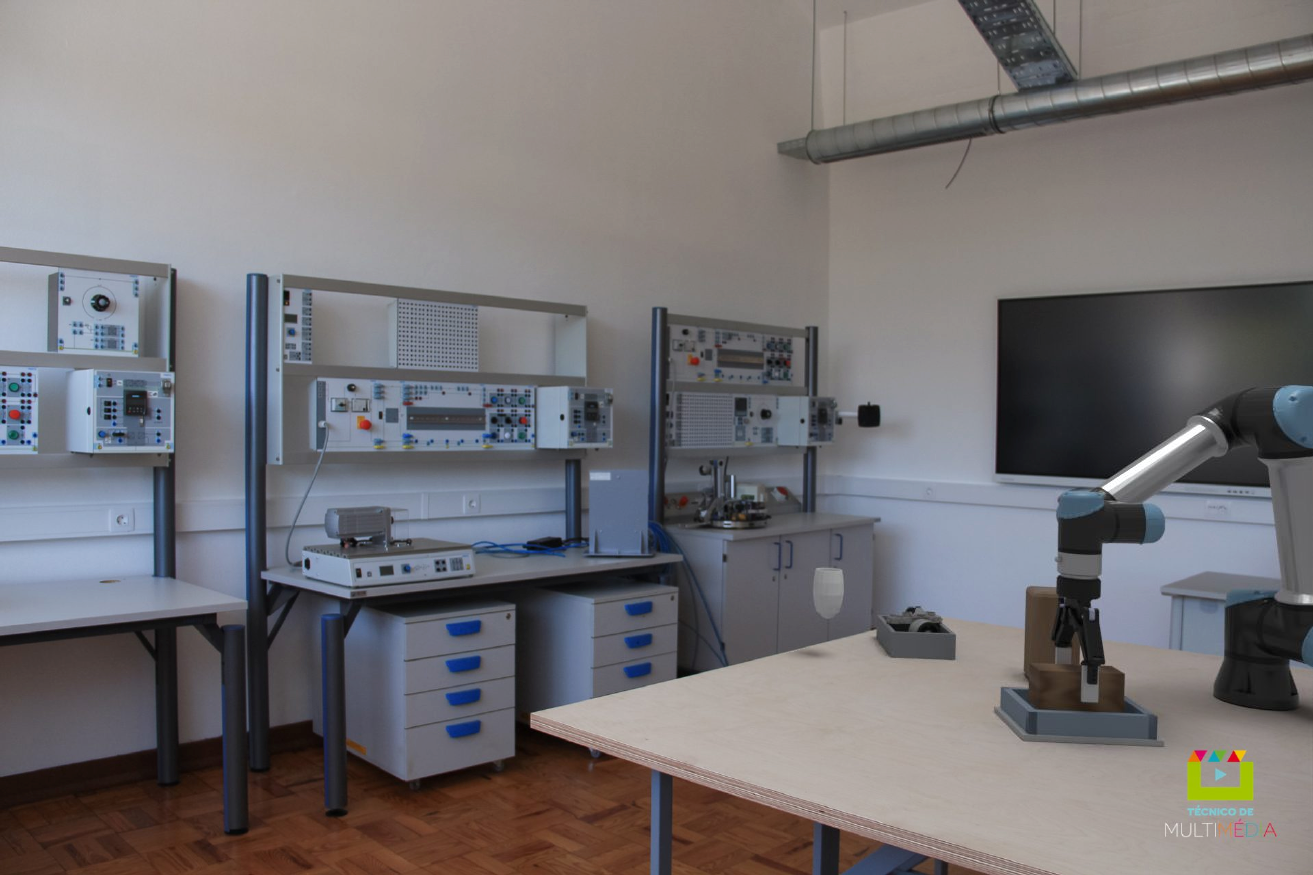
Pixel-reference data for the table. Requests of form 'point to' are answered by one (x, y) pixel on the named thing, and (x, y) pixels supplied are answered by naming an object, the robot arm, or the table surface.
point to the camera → (915, 621)
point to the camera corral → (916, 642)
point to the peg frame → (1077, 722)
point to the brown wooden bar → (1074, 688)
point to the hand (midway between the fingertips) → (1075, 691)
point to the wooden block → (1043, 628)
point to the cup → (828, 591)
